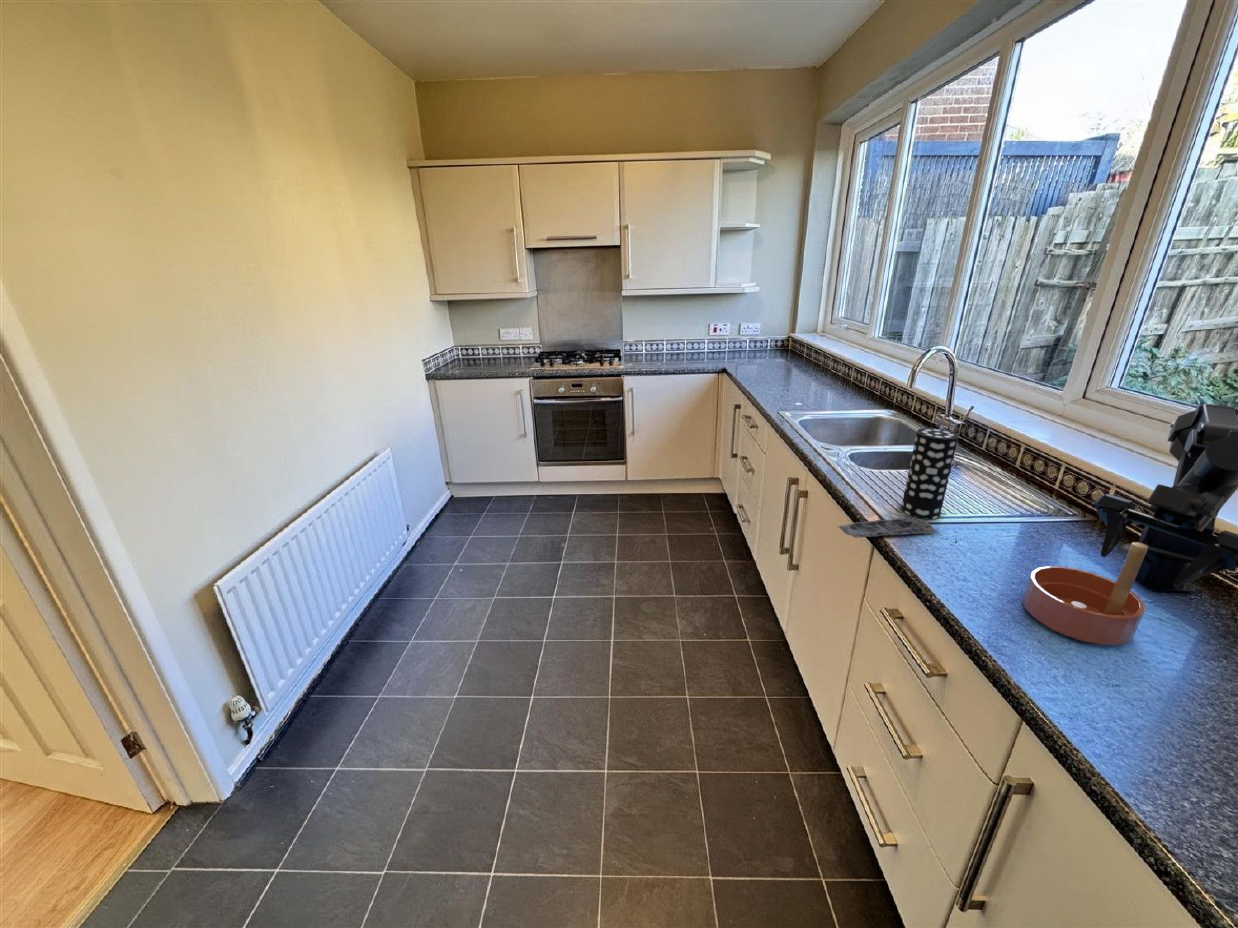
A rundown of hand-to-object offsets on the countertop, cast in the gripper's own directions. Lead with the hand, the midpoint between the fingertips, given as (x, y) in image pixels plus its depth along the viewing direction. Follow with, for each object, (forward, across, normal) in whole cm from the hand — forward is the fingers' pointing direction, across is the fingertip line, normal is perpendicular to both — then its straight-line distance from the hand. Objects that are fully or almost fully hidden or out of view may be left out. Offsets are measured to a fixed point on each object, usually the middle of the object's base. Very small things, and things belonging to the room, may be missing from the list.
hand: (1136, 569), depth 81 cm
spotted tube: (+3, -42, +12) cm, 44 cm away
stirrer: (+10, -3, +3) cm, 11 cm away
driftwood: (+13, -39, +2) cm, 41 cm away
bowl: (+11, -3, +4) cm, 12 cm away
